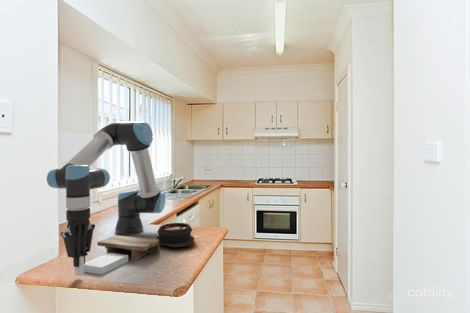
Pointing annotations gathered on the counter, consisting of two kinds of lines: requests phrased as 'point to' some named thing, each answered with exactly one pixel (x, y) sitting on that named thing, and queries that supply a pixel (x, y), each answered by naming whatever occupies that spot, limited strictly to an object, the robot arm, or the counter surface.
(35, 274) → the counter surface
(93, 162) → the robot arm
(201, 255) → the counter surface
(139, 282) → the counter surface
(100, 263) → the plastic case
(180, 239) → the casserole
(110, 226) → the counter surface
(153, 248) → the low shelf
